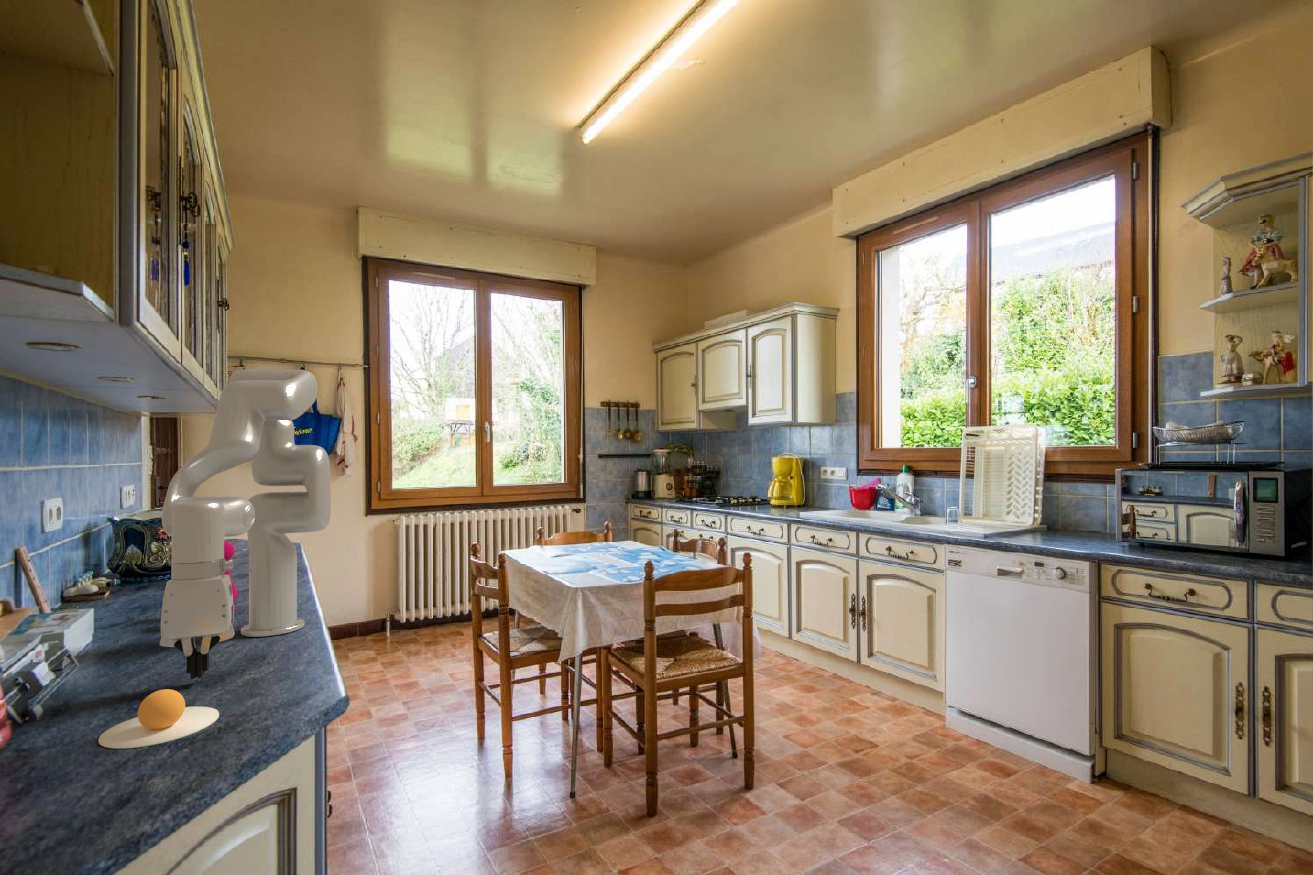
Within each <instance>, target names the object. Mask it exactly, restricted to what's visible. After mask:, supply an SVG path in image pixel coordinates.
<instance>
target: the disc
mask: <svg viewBox="0 0 1313 875" xmlns="http://www.w3.org/2000/svg"><path fill="white" fill-rule="evenodd" d="M219 717H220V712H219V710H218V709H216V708H214V707H210V706H185V709H184V712H183V714H182V716H181V717H180V718H179V720H178V721H177V722H175V723H174V724H173V725H171V726H169V727H167V728H164V729H160V730H152V729H148V728H146V727H144V726H143V725H142V724H141V723H140V722H139V719H138V716H136V717H133V718H131V719H127V720H125V721H122V722H120V723H118V724H116V725H114V726H112V727H110V728H108V729H107V730H106V731H105V730H104V732H103V733H101V734H100V736H99V738H98V744H99V745H100V746H102V747H104V748H106V749H117V750H120V749H121V750H123V749H136V748H142V747H143V748H144V747H149V746H155V745H159V744H164V743H168V742H171V741H175V740H178V739H182V738H185V737H188V736H190V735H193V734H196V733H198V732H200V731H202V730H204V729H206V728H208V727H209V726H211V725H212V724H214V723H215V722H216V721H217V720H218V719H219Z"/></svg>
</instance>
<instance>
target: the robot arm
mask: <svg viewBox="0 0 1313 875" xmlns="http://www.w3.org/2000/svg"><path fill="white" fill-rule="evenodd" d="M228 382H229V383H227V384H226V385H225V386H224V387H223V388H222V390H221V393H220V396H219V399H218V404H217V407H216V411H215V416H214V419H213V425H212V428H211V432H210V436H209V441H208V444H207V445H206V446H205V447H204V448H203V449H201V450H200V451H198V452H197V453H195V454H194V455H193V456H191V457H190V458H189V459H187V461H186V462H185V463H184V464H183V465H182V466H181V467H180V468H179V469H178V470H177V471H176V472H175V474H174V475H173V476H172V478H171V480H170V482H169V484H168V487H167V488H168V489H167V491H166V494H165V498H164V503H163V506H162V512H161V525H162V528H163V530H164V532H165V533H166V534H167V535H168V536H170V537H171V579H169V580H168V581H167V582H166V583H165V584H166V585H165V589H164V593H163V599H162V607H161V615H160V616H161V617H160V636H161V637H160V640H159V646H161V647H166V648H167V647H168V648H175V649H177V650H178V651H180V652H182V653H183V656H185V657H186V674H190V680H194V679H196V678H198V679H200V678H203V676H204V675H205V674H206V672H207V671H209V669H210V651H211V649H213V648H214V647H215V646H216V645H217V644H219V643H221V642H223V641H228V640H230V639H233V637H234V636H235V634H236V633H235V629H234V623H235V612H234V605H235V604H234V602H233V592H232V585H231V580H232V579H231V580H230V576H231V575H230V576H229V575H224V573H225V571H226V570H229V569H230V570H234V566H235V563H234V561H232V562H229V561H227V562H226V560H225V558H224V541H225V540H224V537H225V538H226V537H238V536H242V535H244V534H245V533H247V540H248V541H247V542H248V624H246V625H244V626H242V627H241V628H240V634H241V636H244V637H252V638H256V637H257V638H260V637H262V638H263V637H270V636H271V637H272V636H277V635H283V634H287V633H292V632H294V631H298V630H300V629H302V628H304V626H305V621H306V620H304V619H303V618H301V617H300V618H299V617H298V563H297V562H298V554H297V553H298V552H297V549H296V546H295V544H293V542H292V541H291V540H290V538H289V537H288V536H287V535H286V534H294V533H295V534H296V533H297V534H299V533H300V534H301V533H315V532H320V531H321V532H322V531H323V530H325V529H326V528H327V527H328V526H329V523H330V519H331V510H332V509H331V507H332V506H331V462H330V457H329V455H328V453H327V451H326V450H325V448H323V447H322V446H319V445H315V444H299V445H298V444H295V443H296V442H295V433H294V432H295V426H294V425H295V424H294V422H293V421H294V420H297V419H298V418H300V416H302V415H304V413H305V412H307V411H308V410H309V408H311V407H312V406H313V404H314V403H315V402H316V400H317V396H318V392H319V385H318V381H317V378H316V376H315V375H314V374H313V373H312V372H311V371H308V370H306V369H293V368H292V369H286V368H285V369H280V368H279V369H277V368H276V369H275V368H250V369H248V368H247V369H242V370H241V369H239V370H238V371H235V372H233V373H232V374H231V375H230V376H229V381H228ZM250 461H251V474H252V479H253V481H254V482H255V483H256V484H257V485H259V486H264V487H297V486H302V487H305V490H306V491H269V492H268V491H267V492H262V493H258V494H255V495H253V496H251V497H250V498H248V499H247V498H245V497H242V496H195V494H196V492H197V490H199V488H200V487H201V485H203V484H204V483H205V482H206V481H209V479H211V478H213V477H214V476H217V475H218V474H220V473H223V472H226V471H229V470H231V469H234V468H236V467H238V466H241V465H243V464H245V463H247V462H250ZM194 496H195V497H194ZM201 637H202V640H201V645H200V649H199V650H198V648H197V646H196V643H195V638H201Z"/></svg>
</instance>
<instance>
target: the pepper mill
mask: <svg viewBox="0 0 1313 875" xmlns="http://www.w3.org/2000/svg"><path fill="white" fill-rule="evenodd" d="M225 540H226V537H224V558H225V560H226V562H227V561H229V562H234V561H233V559H232V558H233V557H234V555H235V553H236V549H235V546H234V545H233V543H231V542H229V541H225ZM224 575H229V576H230V580H231V585H232V592H233V603H234V602H236V599H238V596H239V595H238V589H237V587H236V585H235V583H234V582H233V580H232V577H231V569H229V570H226V571H225V573H224ZM235 612H236V604H234V613H235Z"/></svg>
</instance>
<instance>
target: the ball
mask: <svg viewBox="0 0 1313 875" xmlns="http://www.w3.org/2000/svg"><path fill="white" fill-rule="evenodd" d="M185 707H186V700H185V698H184V696H183V695H182V694H181V693H180V692H178V691H177V690H174V689H169V688H167V689H166V688H165V689H159V690H156V691H154V692H151V693H150V694H149V695H147V696H146V697H145V698H144V699H143V700H142V702H141V703H140V705H139V707H138V709H137V717H138V719H139V722H140V723H141V724H142V725H143V726H144V727H146V728H148V729H152V730H160V729H164V728H167V727H169V726H171V725H173V724H174V723H175V722H177V721H178V720H179V718H180V717H181V716H182V714H183V712H184V709H185Z"/></svg>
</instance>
